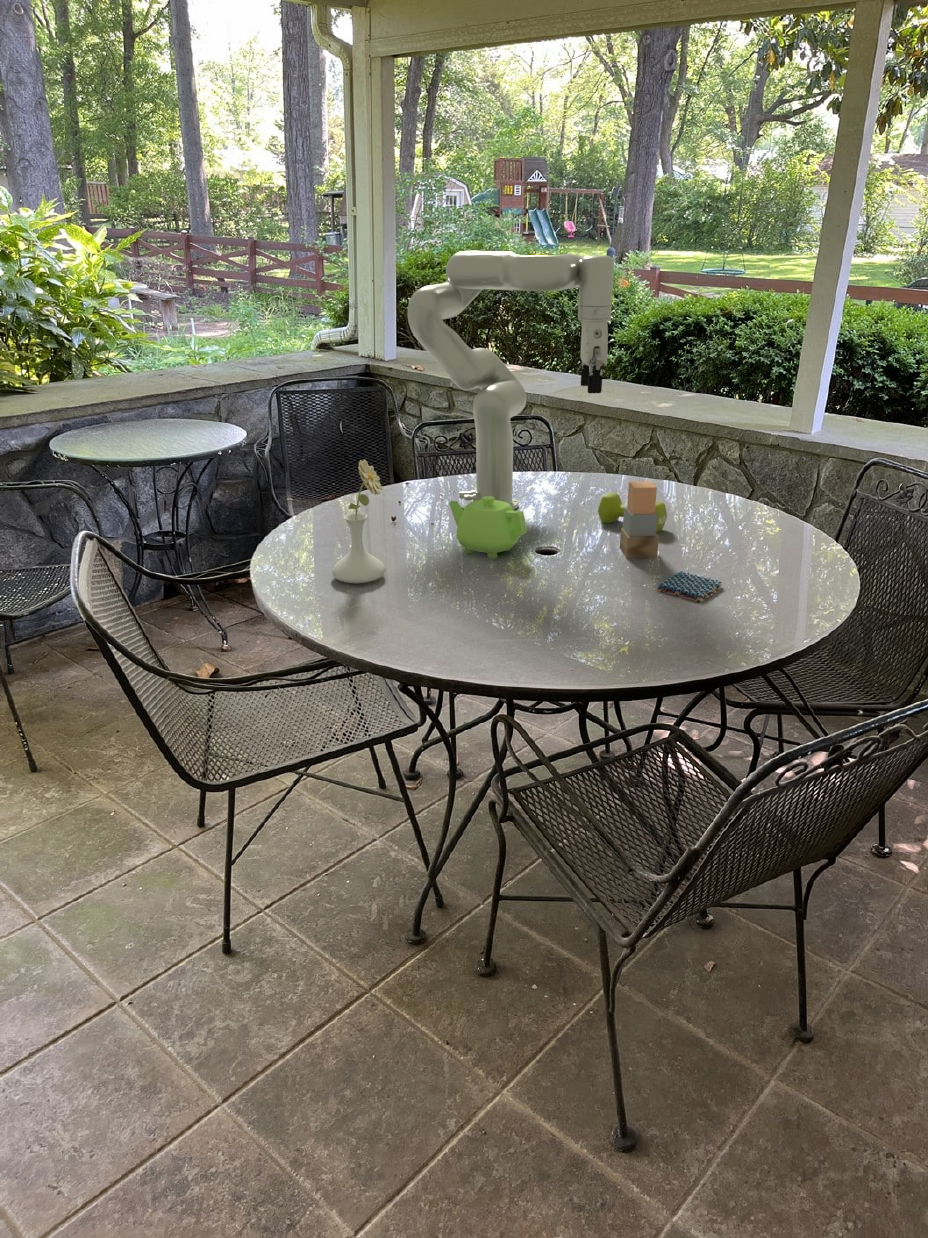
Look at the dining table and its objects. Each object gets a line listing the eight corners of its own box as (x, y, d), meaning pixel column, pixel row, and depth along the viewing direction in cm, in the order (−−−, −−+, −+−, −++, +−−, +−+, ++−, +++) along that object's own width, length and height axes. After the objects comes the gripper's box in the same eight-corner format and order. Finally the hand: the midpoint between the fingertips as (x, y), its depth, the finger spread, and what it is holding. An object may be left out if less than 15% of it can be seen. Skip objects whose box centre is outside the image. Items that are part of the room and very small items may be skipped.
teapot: (435, 550, 201) (434, 497, 195) (467, 534, 211) (467, 483, 205) (509, 567, 190) (510, 512, 185) (539, 549, 200) (541, 496, 195)
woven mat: (724, 589, 179) (725, 580, 178) (701, 606, 172) (702, 596, 171) (678, 577, 185) (679, 569, 184) (654, 593, 178) (654, 583, 177)
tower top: (629, 536, 193) (631, 515, 191) (622, 528, 199) (624, 507, 196) (655, 535, 194) (657, 514, 191) (648, 527, 199) (650, 506, 197)
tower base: (626, 559, 195) (627, 537, 192) (619, 548, 201) (621, 527, 199) (657, 558, 195) (659, 537, 193) (649, 547, 201) (651, 526, 199)
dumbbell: (668, 529, 213) (671, 500, 210) (652, 537, 207) (655, 508, 204) (610, 516, 223) (612, 489, 219) (594, 524, 217) (595, 496, 214)
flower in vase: (364, 592, 178) (356, 473, 168) (321, 581, 184) (311, 465, 173) (401, 572, 188) (396, 458, 178) (359, 562, 194) (352, 452, 183)
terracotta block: (632, 514, 192) (634, 488, 189) (627, 507, 196) (628, 481, 194) (654, 513, 192) (656, 487, 189) (648, 506, 196) (651, 481, 194)
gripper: (618, 317, 192) (613, 395, 199) (603, 309, 208) (599, 382, 215) (584, 317, 192) (581, 396, 199) (572, 310, 207) (569, 383, 215)
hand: (590, 389), depth 207 cm, fingers open, 9 cm apart
